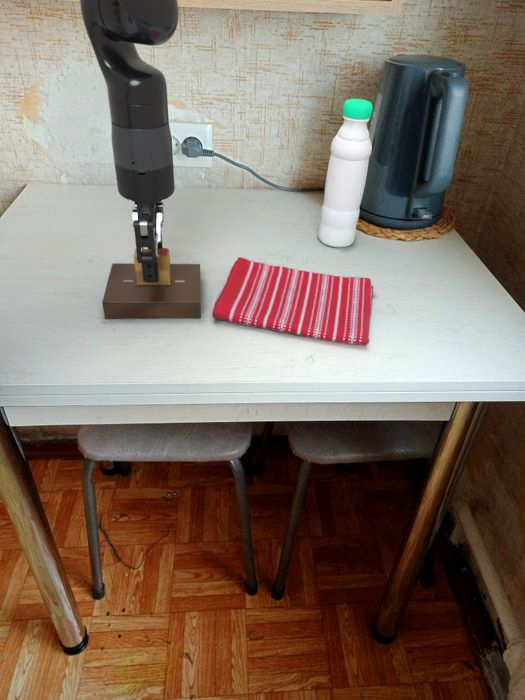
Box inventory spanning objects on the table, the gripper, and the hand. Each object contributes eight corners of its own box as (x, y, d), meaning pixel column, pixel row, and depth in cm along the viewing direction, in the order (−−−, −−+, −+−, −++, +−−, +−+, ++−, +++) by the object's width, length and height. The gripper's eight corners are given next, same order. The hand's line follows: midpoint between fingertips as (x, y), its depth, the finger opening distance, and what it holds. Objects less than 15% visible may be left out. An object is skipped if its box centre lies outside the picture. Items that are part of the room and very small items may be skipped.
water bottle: (312, 243, 97) (332, 102, 81) (323, 228, 102) (343, 93, 86) (348, 252, 95) (375, 109, 79) (357, 236, 100) (384, 100, 84)
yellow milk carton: (136, 285, 77) (133, 254, 74) (138, 277, 79) (135, 247, 75) (170, 285, 77) (168, 254, 74) (171, 277, 79) (169, 247, 76)
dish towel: (237, 266, 89) (237, 253, 87) (373, 289, 86) (376, 275, 84) (208, 322, 76) (208, 308, 74) (367, 351, 73) (370, 336, 71)
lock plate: (104, 319, 75) (101, 301, 73) (114, 279, 83) (112, 262, 81) (200, 318, 76) (200, 301, 74) (200, 279, 85) (200, 262, 83)
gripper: (120, 138, 71) (133, 243, 81) (106, 177, 60) (122, 292, 71) (175, 140, 72) (180, 243, 82) (170, 179, 61) (177, 292, 71)
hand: (153, 266), depth 76 cm, fingers open, 8 cm apart
